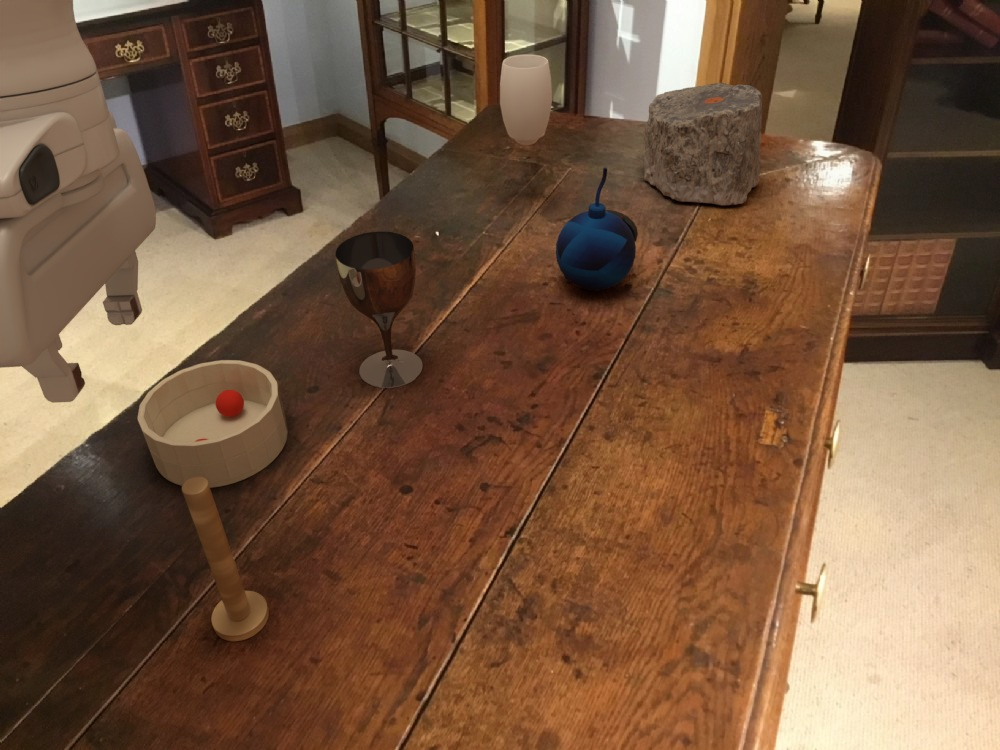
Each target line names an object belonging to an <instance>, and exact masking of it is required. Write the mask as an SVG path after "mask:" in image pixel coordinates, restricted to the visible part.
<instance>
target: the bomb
mask: <svg viewBox="0 0 1000 750" xmlns="http://www.w3.org/2000/svg"><path fill="white" fill-rule="evenodd" d="M607 176H608V167H603V169H602V177H601V180H600V183H599V185H598V187H597V190H596V194H595V199H594V202H593V203H590V205H589V206H588V210H587V211H583V212H581V213H579V214H577V215H575V216H573V217H572V218H571V219H569V220H568V221H567V222H566V223H565V225H564V226H563V227H562V228H561V230H560V231H559V234H558V236H557V239H556V243H555V258H556V263H557V266H558V268H559V269H560V272H561V273H562V275H563V276H564V278H565V279H566V280H567V281H569V282H570V283H571V284H573V285H574V286H576V287H578V288H580V289H583V290H586V291H593V292H594V291H604V290H607V289H610V288H613V287H614V286H617V285H618V284H619V283H621V282H622V281H623V280H625V278H626V277H627V276H628V274H629V273H630V271H631V270H632V267H633V266H634V262H635V259H636V252H637V246H636V241H637V239H638V233H639V231H638V227H637V225H636V224H635V222H634V221H633V220H632V219H631V218H630V217H629V216H628V215H626V214H624V213H622V212H619V211H617V210H613V209H607V206H605V204H604V203H602V202H600V198H601V194H602V193H601V192H602V189H603V188H604V186H605V183H606V181H607Z"/></svg>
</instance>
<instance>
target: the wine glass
mask: <svg viewBox="0 0 1000 750" xmlns="http://www.w3.org/2000/svg"><path fill="white" fill-rule="evenodd" d="M335 263H336V269H337V272H338V278H339V280H340V283H341V286H342V289H343V291H344V294H345V296H346V299H347V300H348V301H349V303H350V305H351V306H352V307H353V308H354V309H355V310H357V312H359V313H361V314H362V315H364V316H365V317H366V318H368V319H370V320H371V321H373V323H375V324H376V326H377V327H378V329H379V332H380V335H381V338H382V343H383V346H384V350H382V351H379V352H376V353H374V354H372V355H370V356H368V357H367V358H365V360H363V362H361V364H360V365H359V369H358V373H359V377H360V379H361V380H362V381H363V382H364V383H365V384H367V385H369V386H372V387H375V388H381V389H393V388H399V387H402V386H403V387H404V386H405V385H408V384H410V383H412V382H413V381H415V380H416V379H418V377H419V376H420V375H422V372H423V369H424V363H423V361H422V359H421V357H420V356H418V355H417V354H416V353H414V352H411V351H408V350H406V349H405V350H404V349H393V346H392V345H393V344H392V329H393V328H392V327H393V325H394V322H395V320H396V318H397V317H398V315H400V313H401V312H402V311H403V310H404V309H405V308H406V307H407V305H408V304H409V302H410V301H411V299H412V297H413V294H414V289H415V284H416V270H417V269H416V254H415V246H414V243H413V242H412V240H411V239H410V238H409V237H407V236H406V235H403V234H401V233H398V232H392V231H369V232H363V233H360V234H357V235H356V234H355V235H354V236H351V237H349V238H347V239H345V240H344V241H342V242H341V243H340V244H339V245H338V247H336V250H335Z"/></svg>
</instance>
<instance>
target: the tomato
mask: <svg viewBox="0 0 1000 750" xmlns="http://www.w3.org/2000/svg"><path fill="white" fill-rule="evenodd" d="M243 407H244V400H243V397H242V396H241V394H240V393H238V392H237V391H234V390H226V391H223V392H222V393H220V394H219V395H218V397H217V399H216V408H217V410H218V412H219V413H220V414H222V415H223V416H226V417H233V416H236V415H238V414H239V413H240V412H241V411H242V409H243Z"/></svg>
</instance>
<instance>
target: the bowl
mask: <svg viewBox="0 0 1000 750" xmlns="http://www.w3.org/2000/svg"><path fill="white" fill-rule="evenodd" d="M226 390H234V391H237V392H238V393H240V394H241V396H242V397H243V400H244V407H243V409H242V411H241V412H240V413H239V414H238V415H236V416H233V417H226V416H223V415H222V414H220V413H219V412H218V410H217V408H216V399H217V397H218V395H219V394H220V393H222V392H223V391H226ZM282 400H283V399H282V397H281V392H280V388H279V384H278V381H277V380H276V378H275V377H274V375H273V373H272V372H271V371H269V370H267V369H266V368H264V367H263V366H261V365H259V364H257V363H254V362H253V363H252V362H248V361H244V360H239V359H238V360H237V359H220V360H214V361H213V360H212V361H208V362H202V363H198V364H194V365H192V366H189V367H186V368H183V369H180V370H178V371H177V372H175V373H173V374H171V375H169V376H167V377H165V378H163V379H162V380H161V381H160V382H158V383H157V384H156V385H155V386H153V388H152V389H150V390H149V391H148V392H147V393H146V395H145V396H144V397H143V399H142V401H141V402H140V404H139V405H138V406H139V408H138V413H137V423H138V425H139V428H140V429H141V432H142V435H143V438H144V440H145V443H146V445H147V448H148V451H149V454H150V456H151V459H152V461H153V463H154V466H155V468H156V470H157V472H158V473H159V474H160V475H161V476H162V477H163V478H165V480H167V481H169V482H171V483H172V484H175V485H178V486H181V487H182V486H183V484H184V483H185V482H186V481H187V480H189V479H191V478H194V477H203V478H205V479H207V481H208V483H209V486H210V489H212V488H219V487H225V486H229V485H233V484H235V483H238V482H241V481H244V480H246V479H248V478H250V477H252V476H254V475H256V474H257V473H259V472H261V471H263V470H264V469H265V468H266V467H268V466H269V465H270V464H271V463H273V462H274V461H275V460H276V459H277V458H278V456H279V455H280V454H281V452H282V451H283V449H284V447H285V445H286V443H287V440H288V435H289V434H288V433H289V431H288V429H289V428H288V424H287V423H288V422H287V416H286V412H285V408H284V404H283V401H282ZM199 439H208V440H202V441H197V442H195V441H196V440H199Z"/></svg>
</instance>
